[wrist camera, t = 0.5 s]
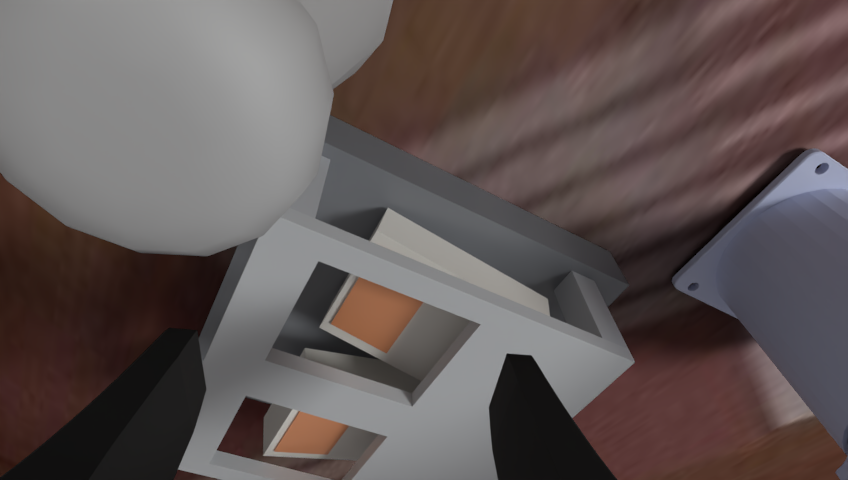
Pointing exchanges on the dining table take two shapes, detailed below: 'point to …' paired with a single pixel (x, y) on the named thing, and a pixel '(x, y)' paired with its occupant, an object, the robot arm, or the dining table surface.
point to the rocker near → (414, 301)
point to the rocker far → (321, 436)
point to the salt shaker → (174, 111)
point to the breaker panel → (353, 253)
